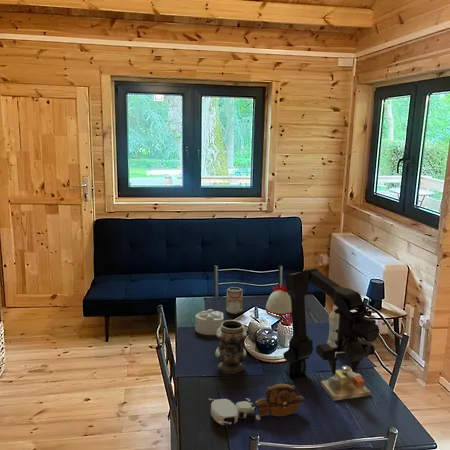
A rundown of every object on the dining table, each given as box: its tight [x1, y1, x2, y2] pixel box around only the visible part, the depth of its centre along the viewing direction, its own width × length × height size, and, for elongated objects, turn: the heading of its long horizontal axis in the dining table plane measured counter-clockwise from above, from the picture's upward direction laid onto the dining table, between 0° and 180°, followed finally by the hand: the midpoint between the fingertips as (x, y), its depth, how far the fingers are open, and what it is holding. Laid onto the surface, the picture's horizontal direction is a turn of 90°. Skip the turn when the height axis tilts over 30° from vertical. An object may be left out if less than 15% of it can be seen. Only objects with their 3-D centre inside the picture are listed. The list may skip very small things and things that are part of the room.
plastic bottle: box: [326, 303, 339, 347], centre depth 185 cm, size 6×7×20 cm
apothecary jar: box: [214, 319, 248, 375], centre depth 170 cm, size 12×12×18 cm
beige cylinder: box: [225, 286, 244, 315], centre depth 224 cm, size 9×8×12 cm
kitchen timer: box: [265, 283, 292, 316], centre depth 225 cm, size 14×14×15 cm
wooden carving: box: [254, 383, 305, 417], centre depth 142 cm, size 16×5×10 cm, turn 106°
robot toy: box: [208, 397, 261, 426], centre depth 141 cm, size 12×4×15 cm
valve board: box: [320, 368, 371, 401], centre depth 157 cm, size 14×10×7 cm
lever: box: [341, 365, 366, 388], centre depth 153 cm, size 11×3×2 cm, turn 14°
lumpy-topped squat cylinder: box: [194, 308, 225, 336], centre depth 203 cm, size 10×13×9 cm
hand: (343, 372), depth 146 cm, fingers open, 7 cm apart
